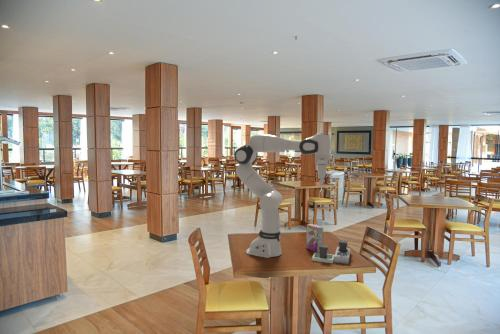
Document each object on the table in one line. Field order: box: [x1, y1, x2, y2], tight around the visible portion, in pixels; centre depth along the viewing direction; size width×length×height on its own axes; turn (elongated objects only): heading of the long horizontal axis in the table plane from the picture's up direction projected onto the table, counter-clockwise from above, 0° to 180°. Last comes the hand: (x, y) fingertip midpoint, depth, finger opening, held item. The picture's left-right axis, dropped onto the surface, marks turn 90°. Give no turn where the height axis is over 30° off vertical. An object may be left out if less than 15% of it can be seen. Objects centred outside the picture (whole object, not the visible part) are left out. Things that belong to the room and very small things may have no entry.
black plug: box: [319, 244, 329, 259], centre depth 204 cm, size 5×5×8 cm
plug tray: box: [311, 252, 335, 264], centre depth 204 cm, size 12×10×2 cm
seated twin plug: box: [338, 239, 349, 252], centre depth 211 cm, size 5×5×8 cm
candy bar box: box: [305, 223, 324, 253], centre depth 222 cm, size 11×5×16 cm, turn 31°
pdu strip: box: [333, 246, 351, 265], centre depth 207 cm, size 8×20×5 cm, turn 161°
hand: (322, 183), depth 203 cm, fingers open, 8 cm apart
